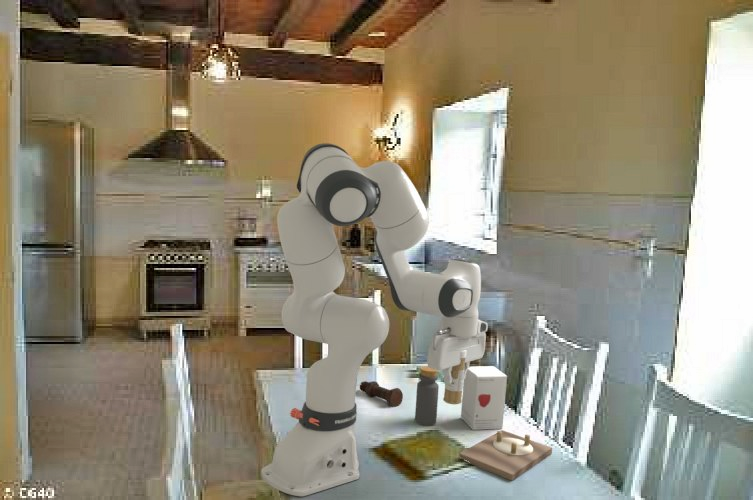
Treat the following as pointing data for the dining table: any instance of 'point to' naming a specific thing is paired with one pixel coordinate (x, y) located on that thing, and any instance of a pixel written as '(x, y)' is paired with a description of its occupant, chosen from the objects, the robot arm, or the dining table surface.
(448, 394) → the sprinkles bottle
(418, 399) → the bottle
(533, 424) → the dining table surface
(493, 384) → the supplement box
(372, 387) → the bolt
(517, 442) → the pin board
